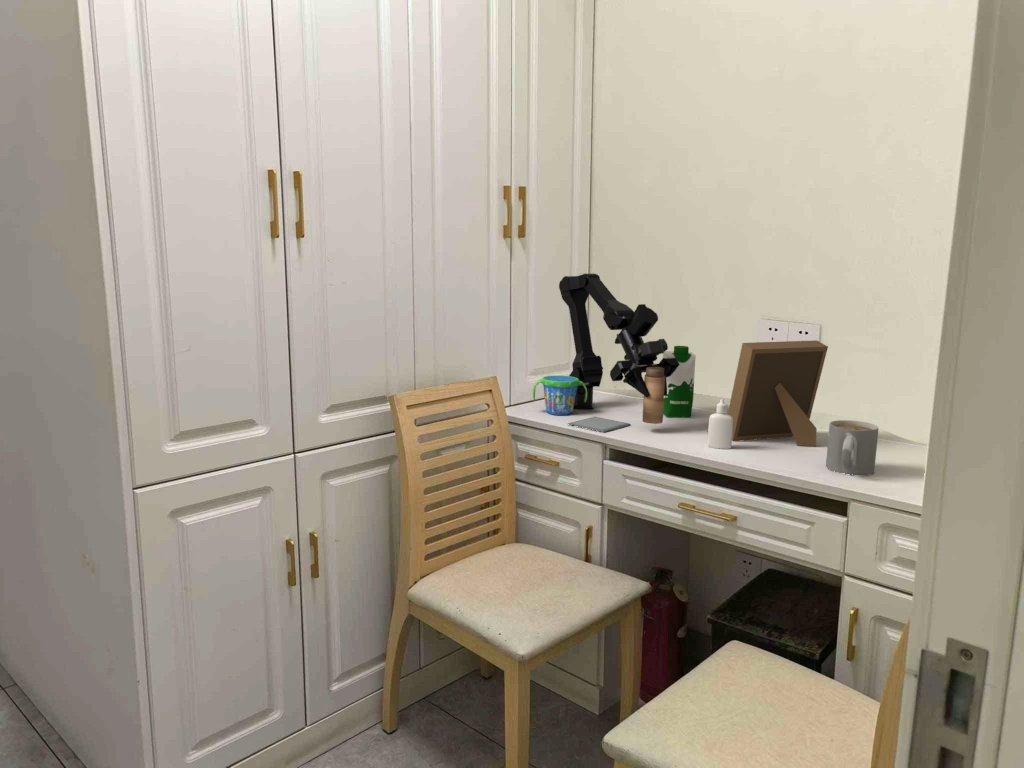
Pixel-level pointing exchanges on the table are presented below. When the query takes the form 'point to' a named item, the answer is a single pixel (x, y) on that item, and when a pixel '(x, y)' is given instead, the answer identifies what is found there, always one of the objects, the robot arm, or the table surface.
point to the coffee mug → (852, 447)
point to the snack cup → (559, 393)
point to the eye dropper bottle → (720, 428)
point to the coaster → (599, 424)
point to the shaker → (654, 395)
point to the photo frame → (776, 390)
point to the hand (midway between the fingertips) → (657, 395)
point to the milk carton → (680, 384)
